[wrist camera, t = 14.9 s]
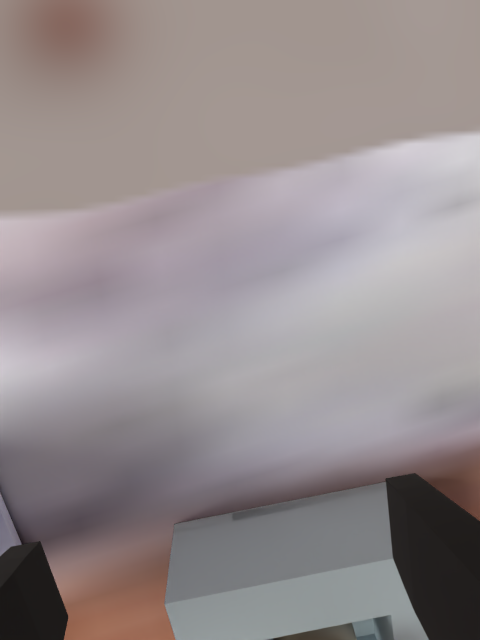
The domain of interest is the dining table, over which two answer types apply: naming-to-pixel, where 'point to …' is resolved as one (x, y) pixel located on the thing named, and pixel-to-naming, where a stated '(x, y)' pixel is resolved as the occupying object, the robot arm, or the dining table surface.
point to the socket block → (290, 571)
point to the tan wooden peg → (324, 634)
